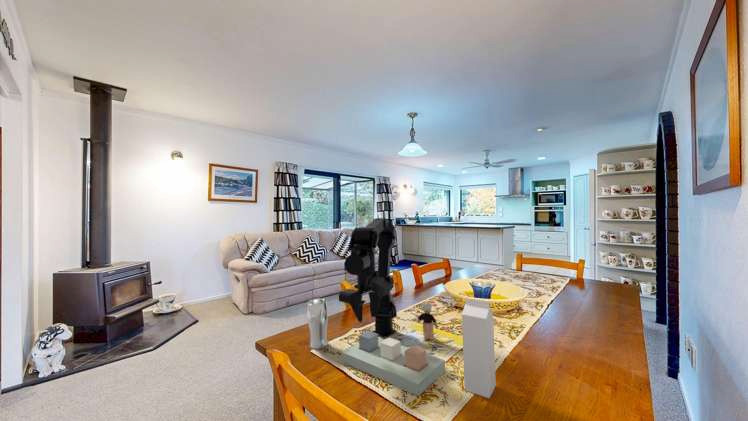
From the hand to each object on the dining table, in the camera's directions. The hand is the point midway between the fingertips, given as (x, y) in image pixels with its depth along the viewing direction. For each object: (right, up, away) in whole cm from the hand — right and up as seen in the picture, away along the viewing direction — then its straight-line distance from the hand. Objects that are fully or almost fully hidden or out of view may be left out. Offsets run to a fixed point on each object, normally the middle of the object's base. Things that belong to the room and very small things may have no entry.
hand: (367, 318), depth 90 cm
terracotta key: (+13, -9, -11) cm, 19 cm away
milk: (+28, -11, -17) cm, 35 cm away
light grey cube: (+7, -9, -5) cm, 13 cm away
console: (+7, -12, -5) cm, 15 cm away
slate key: (0, -10, 0) cm, 10 cm away
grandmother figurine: (+21, -12, +10) cm, 26 cm away
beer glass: (-17, -13, +10) cm, 23 cm away
